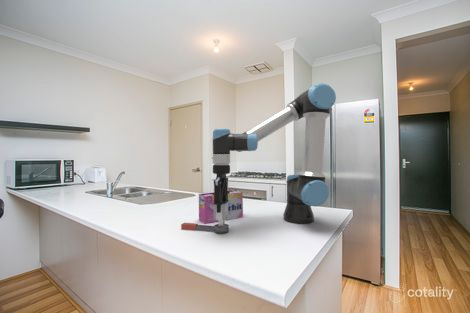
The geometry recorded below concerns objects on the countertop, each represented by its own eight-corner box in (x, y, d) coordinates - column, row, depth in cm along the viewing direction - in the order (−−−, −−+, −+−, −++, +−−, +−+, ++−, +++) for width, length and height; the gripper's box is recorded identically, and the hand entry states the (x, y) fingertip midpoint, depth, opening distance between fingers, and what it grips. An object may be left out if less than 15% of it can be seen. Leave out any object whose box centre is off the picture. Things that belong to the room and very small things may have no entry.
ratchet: (230, 229, 101) (230, 217, 101) (226, 234, 95) (226, 221, 95) (185, 226, 106) (185, 214, 106) (179, 230, 100) (179, 218, 100)
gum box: (237, 213, 129) (237, 189, 129) (245, 216, 123) (245, 191, 123) (198, 220, 117) (198, 193, 116) (205, 224, 110) (204, 196, 110)
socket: (228, 217, 101) (228, 201, 101) (224, 220, 96) (224, 204, 96) (217, 216, 102) (217, 201, 102) (213, 219, 97) (213, 203, 97)
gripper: (219, 163, 108) (219, 212, 109) (205, 165, 91) (205, 223, 91) (234, 163, 107) (234, 213, 107) (223, 165, 89) (223, 224, 89)
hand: (221, 217), depth 99 cm, fingers closed on socket, 5 cm apart
